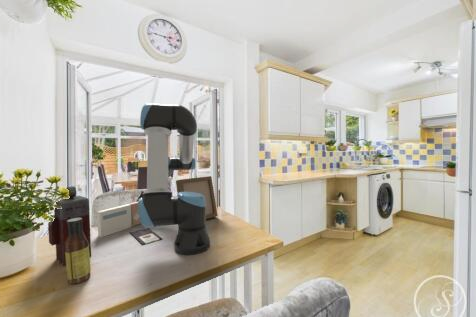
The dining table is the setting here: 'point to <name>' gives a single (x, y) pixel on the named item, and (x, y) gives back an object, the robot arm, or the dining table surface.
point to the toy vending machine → (59, 228)
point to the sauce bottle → (77, 252)
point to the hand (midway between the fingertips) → (132, 218)
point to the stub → (134, 211)
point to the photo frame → (202, 187)
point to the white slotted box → (114, 219)
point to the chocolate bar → (145, 236)
